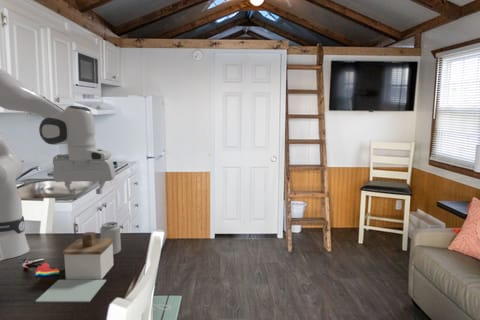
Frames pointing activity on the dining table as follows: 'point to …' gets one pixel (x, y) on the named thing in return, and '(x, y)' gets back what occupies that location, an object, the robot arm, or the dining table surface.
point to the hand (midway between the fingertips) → (85, 193)
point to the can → (112, 235)
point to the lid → (88, 245)
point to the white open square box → (88, 265)
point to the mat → (72, 291)
